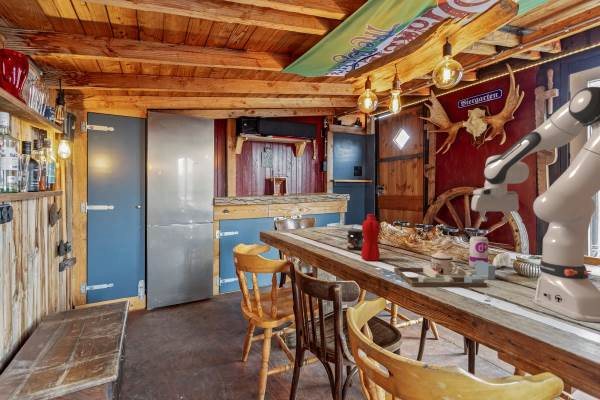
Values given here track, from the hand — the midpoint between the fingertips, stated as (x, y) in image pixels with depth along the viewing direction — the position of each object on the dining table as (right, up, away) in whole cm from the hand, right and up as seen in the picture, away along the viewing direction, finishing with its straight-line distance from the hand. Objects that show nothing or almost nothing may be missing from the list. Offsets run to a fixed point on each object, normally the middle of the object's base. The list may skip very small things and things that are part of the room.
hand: (494, 221), depth 145 cm
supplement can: (0, -24, +14) cm, 28 cm away
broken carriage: (-27, -25, -14) cm, 39 cm away
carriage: (-18, -25, -3) cm, 31 cm away
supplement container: (-54, -22, +58) cm, 82 cm away
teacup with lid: (-25, -25, -4) cm, 35 cm away
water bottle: (-50, -23, +29) cm, 62 cm away
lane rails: (-29, -25, -7) cm, 38 cm away
